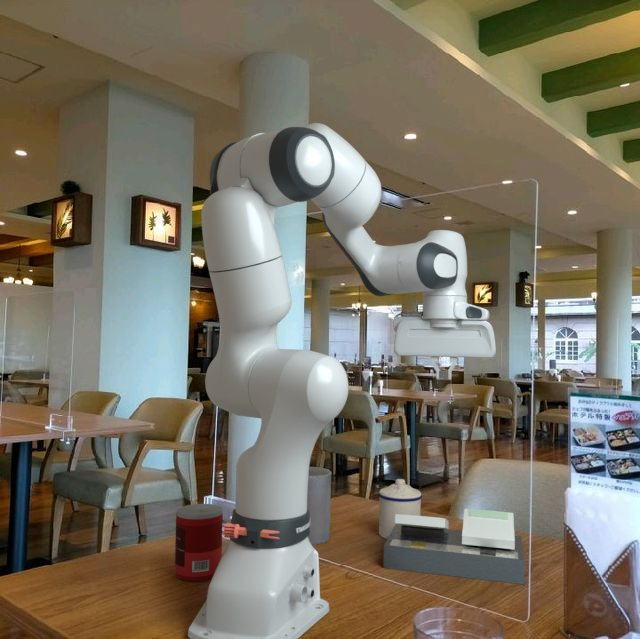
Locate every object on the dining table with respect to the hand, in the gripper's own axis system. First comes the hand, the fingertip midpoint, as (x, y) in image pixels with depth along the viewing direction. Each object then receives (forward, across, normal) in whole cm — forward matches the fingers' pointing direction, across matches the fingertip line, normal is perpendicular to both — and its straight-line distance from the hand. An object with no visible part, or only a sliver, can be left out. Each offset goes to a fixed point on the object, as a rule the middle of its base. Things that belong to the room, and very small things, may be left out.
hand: (443, 379), depth 126 cm
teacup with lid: (+33, -10, +5) cm, 35 cm away
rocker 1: (+26, -3, -8) cm, 28 cm away
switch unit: (+33, +3, -9) cm, 34 cm away
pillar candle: (+33, -27, -4) cm, 43 cm away
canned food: (+33, -39, -29) cm, 59 cm away
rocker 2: (+26, +9, -8) cm, 29 cm away
